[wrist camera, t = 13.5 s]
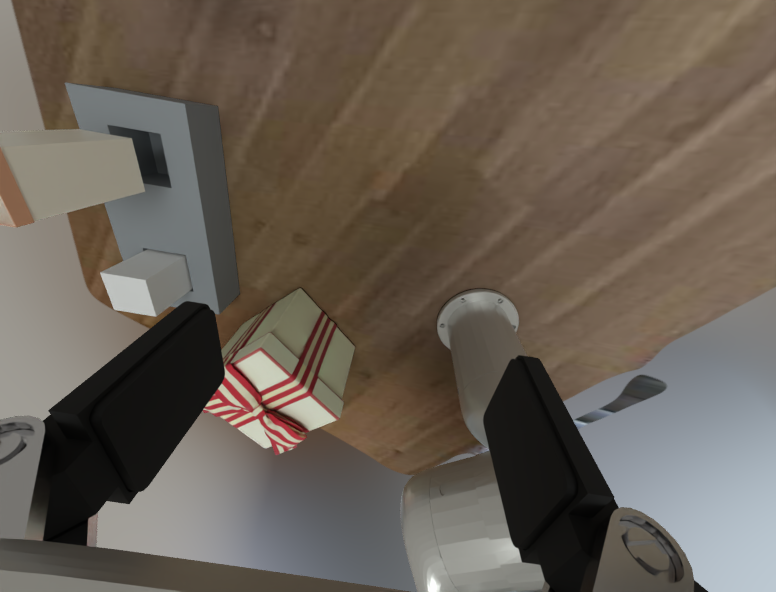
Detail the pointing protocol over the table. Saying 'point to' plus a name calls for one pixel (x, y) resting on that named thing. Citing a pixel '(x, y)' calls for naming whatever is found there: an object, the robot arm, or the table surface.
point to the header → (166, 201)
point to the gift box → (283, 373)
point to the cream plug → (63, 172)
